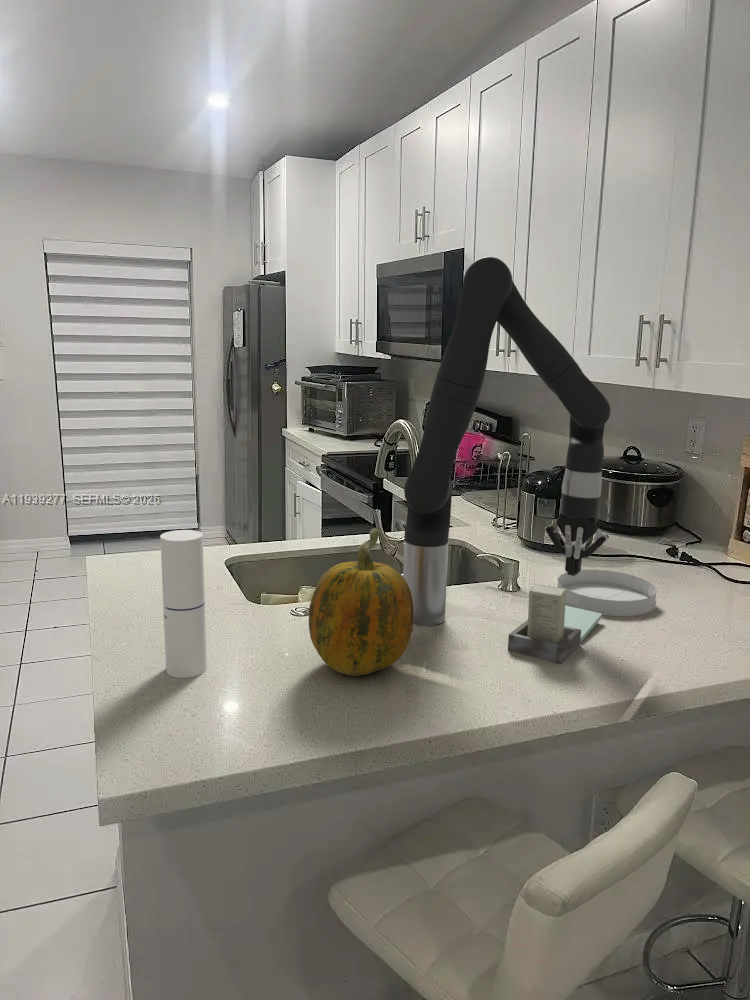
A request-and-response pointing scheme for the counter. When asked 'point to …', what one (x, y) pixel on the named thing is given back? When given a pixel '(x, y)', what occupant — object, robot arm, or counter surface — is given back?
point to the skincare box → (546, 613)
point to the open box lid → (581, 620)
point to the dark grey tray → (544, 644)
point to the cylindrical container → (184, 603)
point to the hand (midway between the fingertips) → (572, 574)
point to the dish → (608, 592)
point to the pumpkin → (361, 614)
